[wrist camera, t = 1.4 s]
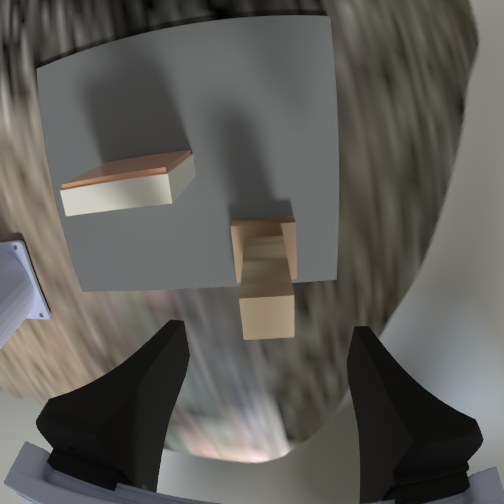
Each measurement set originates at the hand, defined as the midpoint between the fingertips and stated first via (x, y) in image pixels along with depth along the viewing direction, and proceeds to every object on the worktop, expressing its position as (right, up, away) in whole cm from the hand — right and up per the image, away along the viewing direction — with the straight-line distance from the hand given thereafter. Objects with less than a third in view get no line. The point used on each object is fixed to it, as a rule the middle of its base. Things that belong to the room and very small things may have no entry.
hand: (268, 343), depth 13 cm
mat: (-5, +9, +7) cm, 13 cm away
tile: (-7, +9, +6) cm, 13 cm away
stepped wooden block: (0, +4, +9) cm, 10 cm away
